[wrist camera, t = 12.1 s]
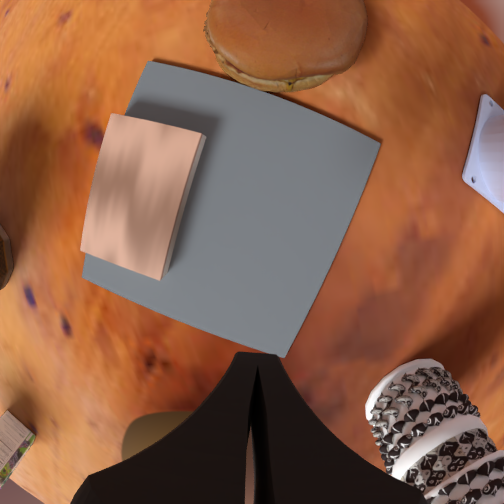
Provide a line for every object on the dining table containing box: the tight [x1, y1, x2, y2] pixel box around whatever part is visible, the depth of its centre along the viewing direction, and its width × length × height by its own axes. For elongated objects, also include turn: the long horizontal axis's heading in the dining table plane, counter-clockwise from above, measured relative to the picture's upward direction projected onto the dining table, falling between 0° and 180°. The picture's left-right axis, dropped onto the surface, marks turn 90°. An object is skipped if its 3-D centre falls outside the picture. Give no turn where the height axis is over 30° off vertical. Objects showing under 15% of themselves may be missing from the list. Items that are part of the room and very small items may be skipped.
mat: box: [82, 61, 381, 358], centre depth 18 cm, size 16×16×1 cm
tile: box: [80, 113, 206, 281], centre depth 17 cm, size 9×2×6 cm
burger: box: [203, 0, 368, 92], centre depth 13 cm, size 10×9×5 cm
